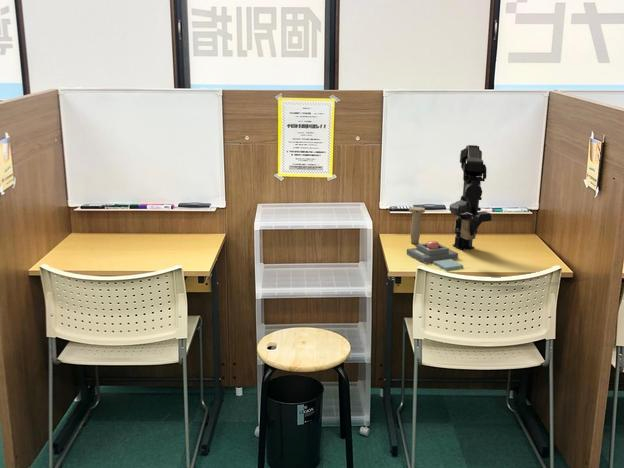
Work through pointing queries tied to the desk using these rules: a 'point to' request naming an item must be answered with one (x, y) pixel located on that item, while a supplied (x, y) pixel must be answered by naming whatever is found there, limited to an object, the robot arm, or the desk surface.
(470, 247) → the robot arm
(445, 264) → the pad
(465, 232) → the brown upright block
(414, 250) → the grey stepped block
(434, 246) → the button
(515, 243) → the desk surface
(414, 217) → the handle
